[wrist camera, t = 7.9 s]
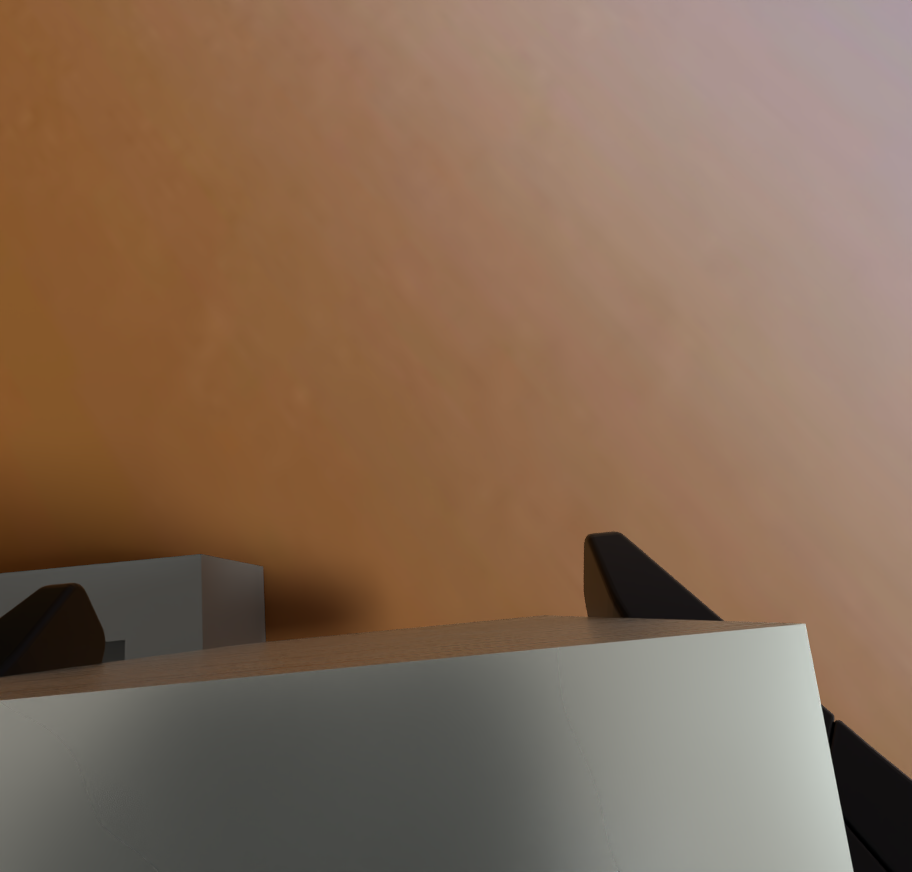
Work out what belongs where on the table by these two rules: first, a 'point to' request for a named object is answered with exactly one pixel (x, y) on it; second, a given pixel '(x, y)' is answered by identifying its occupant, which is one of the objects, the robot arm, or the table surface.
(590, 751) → the cover plate
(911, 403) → the table surface
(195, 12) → the table surface
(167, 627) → the slot box
